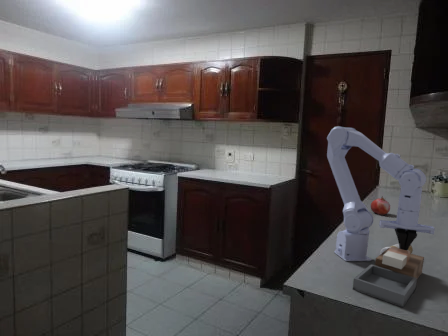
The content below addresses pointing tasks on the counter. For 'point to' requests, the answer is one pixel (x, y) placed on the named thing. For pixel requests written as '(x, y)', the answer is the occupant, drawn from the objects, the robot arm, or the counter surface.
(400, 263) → the cream tile
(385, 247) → the sprinkles bottle
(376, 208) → the fruit
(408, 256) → the terracotta tile
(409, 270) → the walnut board
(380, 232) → the counter surface
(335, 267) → the counter surface
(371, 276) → the box
